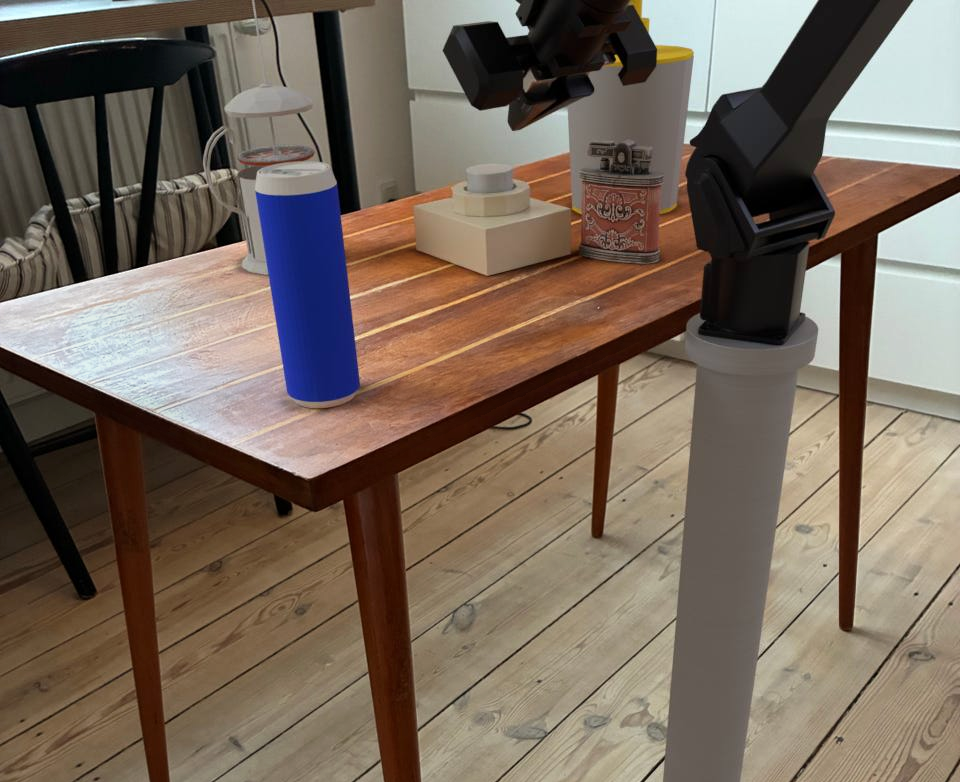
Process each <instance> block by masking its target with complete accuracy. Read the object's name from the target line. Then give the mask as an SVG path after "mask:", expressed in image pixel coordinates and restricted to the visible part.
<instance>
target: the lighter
mask: <svg viewBox="0 0 960 782" xmlns="http://www.w3.org/2000/svg"><path fill="white" fill-rule="evenodd" d="M588 156H589V157H600V158H602V160H600V166H589V167H584V168H582V169H580V179H581V180H582V214H581V226H580V227H581V230H580V231H581V232H580V242H579V243H578V254H579V255H580V256H581V257H587V258H591V259H595V260H601V261H610V262H616V263H618V262H619V263H629V264H641V265H642V264H645V265H647V264H653V263H657V262H659V260H660V248H659V235H660V234H659V232H660V215H661V214H660V199H661V184H663V181H664V173H663V172H660V171H653V170H649V166H650V164H651V159H652V147H649V146H637V145H636V143H635V141H633V140H626V141H623V142H621V143H619V144H615V142H613V141H600V140H592V141H590V143H589V144H588ZM609 158H613V160H612V165H610V160H609ZM639 161H640V163H639Z"/></svg>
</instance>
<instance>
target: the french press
mask: <svg viewBox="0 0 960 782" xmlns="http://www.w3.org/2000/svg"><path fill="white" fill-rule="evenodd" d="M251 4H252V10H253V16H254V23H255V31H256V37H257V44H258V51H259V57H260V64H261V70H262V77H263V83H261V84H260V85H259V86H255V87H253V88H249V89H246V90H243V91H241V92H240V93H238V94H237V95H235V96H234V97H233V98H232V99H231V100H230V101H229V102H228V103H227V104H226V105H224V112H225V114H226V115H227V116H229V117H231V118H236V119H237V118H240V119H242V118H243V119H248V118H249V119H250V118H251V119H253V118H256V119H257V118H260V119H261V118H269V125H270V131H271V138H272V144H273V146H272V145H270V146H269V145H266V146H260V147H259V146H258V147H254V148H250V149H247V150H243V151H242V152H240V153H239V154H238V155H237V160H238V162H239V163H240V164H243V165H246V166H249V167H246V168H244V169H242V170H240V171H238V172H237V179H238V184H239V190H240V198H241V201H242V202H241V203H242V208H243V210H242V209H241V208H239V207H236V206H234V205H231V204H228V203H226V202H225V201H224V200H223V199H221V197H220V195H219V193H218V192H217V190H216V188H215V186H214V184H213V180H212V174H211V157H212V152H213V149H214V147H215V146H216V144H217V142H218V141H219V139H220V138H221V137H222V136H223V135H225V134H226V133H227V135H228V141H229V142H230V144H231V145H233V146H235V145H236V137H235V132H234V130H233V129H232V128H230V127H229V126H227V125H222V126H221V127H219V128H218V129H216V130H215V131H214V132H213V133H212V134H211V136H210V138H209V139H208V140H207V142H206V145H205V148H204V153H203V160H202V166H203V171H204V176H205V181H206V183H207V186H208V188H209V190H210V192H211V193H212V195H213V196H214V198H215V199H216V200H217V201H218V202H219V203H220V205H222V206H223V207H224V208H226V209H227V210H228V211H231V212H233V213H235V214H238V215H241V219H242V224H243V230H244V236H245V242H246V248H247V255H246V256H245V258H244V259H242V260H243V261H242V262H241V268H242V269H244V270H245V271H247V272H249V273H252V274H258V275H265V276H269V275H268V268H267V262H266V256H265V250H264V243H263V237H262V231H261V224H260V218H259V212H258V205H257V199H256V193H255V184H256V177H257V172H258V170H260V169H262V168H264V167H267V166H270V165H274V164H280V163H287V162H298V161H309V160H310V159H311V158H313V157H314V155H315V150H314V148H312V147H310V146H307V145H302V144H301V145H298V144H294V145H292V144H287V146H286V145H283V144H281V145H279V144H276V138H275V132H274V131H275V130H274V124H273V118H274V117H283V116H290V115H296V114H302V113H306V112H309V111H310V110H312V109H313V106H314V101H313V99H312V98H310V97H309V96H307V95H305V94H304V93H302V92H301V91H299V90H297V89H294V88H290V87H288V86H281V85H272V83H270V82H267V77H266V70H265V63H264V58H263V57H264V56H263V50H262V45H261V37H260V36H261V35H260V31H259V22H258V18H257V10H256V3H255V0H251Z"/></svg>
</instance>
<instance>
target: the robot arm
mask: <svg viewBox="0 0 960 782" xmlns="http://www.w3.org/2000/svg"><path fill="white" fill-rule="evenodd" d="M515 2H517V3H518V4H519V6H518V8H517V9H516V12H515V16H516V18H517V20H518V22H519V24H520V25H521V27H526V28H527V29H528V33H527V34H522V35H516V36H508V37H506V35H505V33H504V30H503V29H502V27H501V25H500V24H499V22H498V21H492V20H491V21H490V20H488V21H487V20H486V21H479V22H471V23H462V24H456V25H455V24H454V25H452V28H451V30H450V32H449V34H448V37H447V38H446V41H445V43H444V45H443V48H442V52H443V54H444V56H445V58H446V60H447V62H448V64H449V66H450V68H451V71H452V72H453V74H454V76H455V78H456V79H457V81H458V84H459V86H460V87H461V89H462V91H463V93H464V95H465V97H466V98H467V101H468V103H469V104H470V106H471V107H473V108H474V109H476V110H478V111H481V112H482V111H487V110H493V109H498V108H504V107H508V111H507V112H508V113H507V124H508V126H509V128H510V130H511V131H512V132H518V131H521V130H523V129H524V128H527V127H529V126H530V125H532V124H535V123H536V122H539V121H541V120H542V119H544V118H545V117H547V116H549V115H552V114H553V113H556V112H557V111H560V110H562V109H564V108H566V107H568V105H570V104H572V103H574V102H576V101H578V100H580V99H582V98H584V97H588V96H591V95H592V94H593V93H594V90H595V89H594V86H593V84H592V82H591V80H590V78H589V77H588V75H589V73H590V72H593V71H599V70H601V68H602V66H604V65H610V64H614V63H615V61H616V58H615V56H614V55H617V56H618V58H619V59H620V61H621V63H622V65H623V67H622V69H621V70H620V72H619V73H618V77H619V79H620V81H621V83H622V85H623V86H626V85H632V84H638V83H644V82H646V80H647V79H648V77H649V76H650V75H651V73H652V72H653V70H654V69H655V68H656V65H657V48H656V46H655V45H656V44H655V42H654V41H653V39H652V37H651V35H650V32H649V33H648V31H647V29H646V27H645V26H644V24H643V22H642V20H641V18H640V16H639V14H638V13H637V11H636V9H635V7H634V5H629V3H630V2H631V0H515ZM913 2H914V0H817V1H816V3H815V4H814V6H813V7H812V9H811V10H810V11H809V14H808V15H807V16H806V18H805V20H804V21H803V23H802V25H800V28H799V29H798V31H797V32H796V34H795V35H794V37H793V39H792V41H791V42H790V43H789V45H788V46H787V48H786V50H785V52H784V53H783V55H782V56H781V58H780V59H779V61H778V63H777V64H776V65H775V66H774V69H773V70H772V72H771V74H769V77H768V78H767V80H766V81H765V83H764V84H763V85H762V86H760V87H755V88H749V89H743V90H739V91H733V92H729V93H728V92H727V93H723V94H721V95H720V96H719V97H718V99H717V100H716V101H715V103H714V104H713V105H712V107H711V110H710V112H709V114H708V117H707V120H706V122H705V124H704V125H703V127H702V128H701V130H700V131H699V132H698V134H697V135H696V136H694V137H693V138H691V139H690V140H689V145H690V146H691V147H694V150H693V151H692V152H691V154H690V156H689V158H688V161H687V163H686V168H685V172H684V175H685V178H686V191H687V198H688V204H689V210H690V215H691V220H692V226H693V232H694V238H695V244H696V248H697V249H698V250H699V251H703V252H705V253H708V254H709V256H710V257H711V259H710V260H709V261H707V263H706V264H705V265H703V270H702V271H703V272H702V273H703V274H702V285H701V299H700V311H699V313H700V318H701V319H702V320H706V321H705V322H704V323H703V324H701V325H700V326H699V327H698V334H699V335H703V336H710V337H717V338H725V339H732V340H739V341H746V342H754V343H761V344H768V345H776V346H780V345H784V344H785V343H786V342H787V340H788V339H789V338H790V337H791V336H792V335H793V333H794V332H795V331H796V330H797V329H798V328H799V326H800V325H801V324H802V323H803V322H804V320H805V316H806V313H805V312H801V308H802V301H803V300H802V299H803V293H804V286H805V278H806V273H807V272H806V271H807V264H808V259H809V257H808V256H809V249H810V242H812V241H815V240H816V241H819V240H822V239H824V238H826V235H827V234H828V231H829V229H830V227H831V225H832V223H833V220H834V219H835V216H836V211H835V208H834V206H833V204H832V202H831V201H830V199H829V197H828V195H827V194H826V192H825V190H824V188H823V186H822V185H821V183H820V180H819V179H818V177H817V175H816V174H815V171H816V169H817V166H818V165H819V163H820V161H821V160H822V157H823V154H824V147H825V139H826V133H827V125H828V121H829V120H830V118H831V116H832V114H833V112H834V111H836V109H837V107H838V106H839V104H840V103H841V101H842V100H843V99H844V97H845V96H846V95H847V93H848V92H849V91H850V89H851V88H852V86H853V85H854V84H855V82H856V81H857V80H858V78H859V77H860V75H861V74H862V73H863V71H864V70H865V68H866V67H867V65H868V64H869V63H870V61H871V60H873V59H872V58H874V56H875V54H877V52H878V51H879V49H880V48H881V46H882V45H883V44H884V43H885V41H886V39H887V38H888V36H889V35H890V34H891V32H892V31H893V30H894V28H895V27H896V25H897V24H898V22H899V21H900V20H901V18H902V17H903V16H904V14H905V13H906V12H907V10H908V9H909V7H910V6H911V5H912V3H913ZM763 215H768V218H769V219H768V220H765V221H761V222H757V223H756V221H755V220H754V218H756V217H760V216H763Z"/></svg>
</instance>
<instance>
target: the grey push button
mask: <svg viewBox="0 0 960 782" xmlns="http://www.w3.org/2000/svg"><path fill="white" fill-rule="evenodd" d="M465 179H466V180H465V181H467V191H469V192H472V193H486V194H487V193H501V192H505V191H510V190H513V179H514V167H513V166H512V165H510V164H505V163H482V164H475V165H471V166H469V167H466V169H465Z"/></svg>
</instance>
